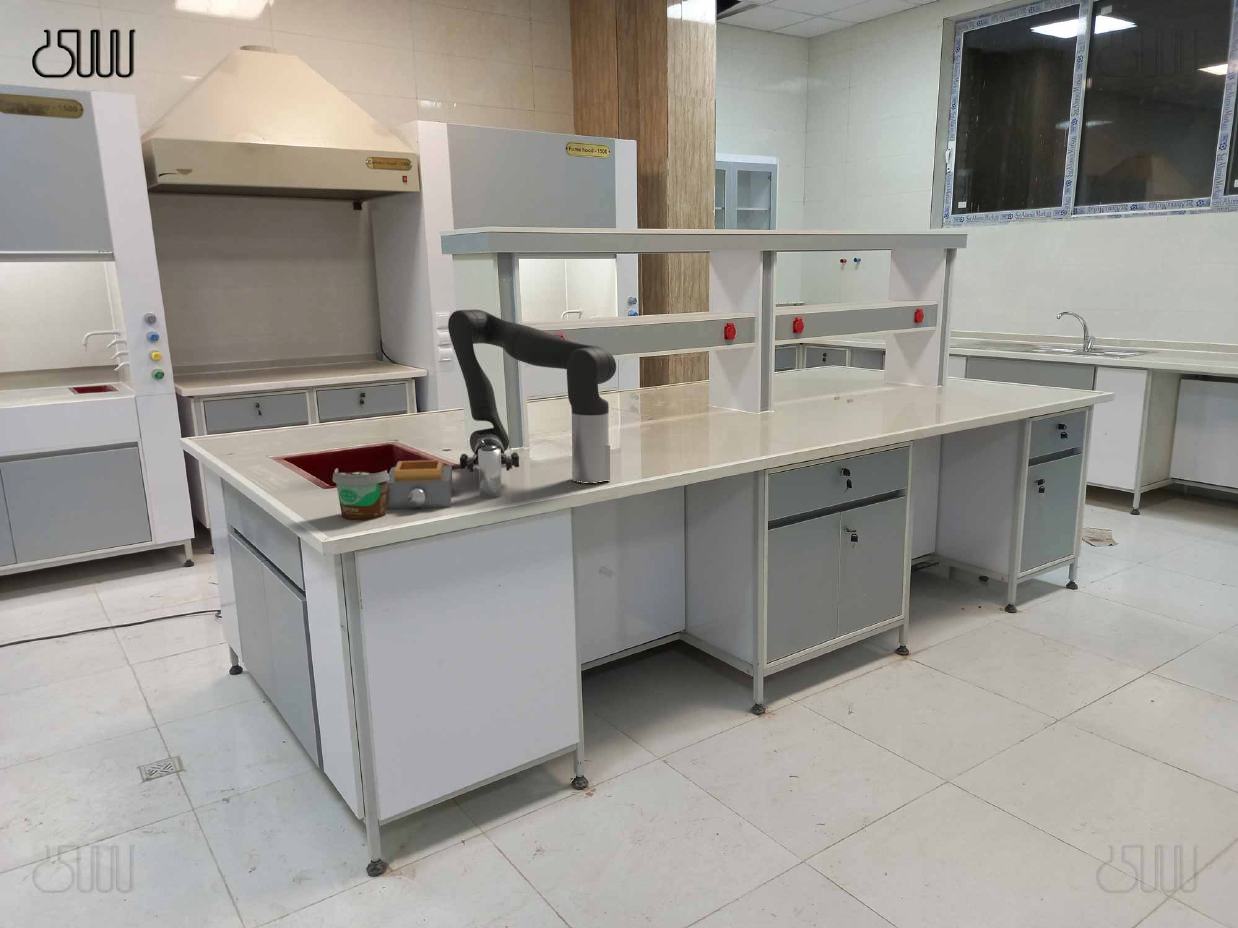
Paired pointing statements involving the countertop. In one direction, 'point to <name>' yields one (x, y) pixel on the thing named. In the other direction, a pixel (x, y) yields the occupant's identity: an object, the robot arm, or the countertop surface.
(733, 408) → the countertop surface
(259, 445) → the countertop surface
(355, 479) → the food container
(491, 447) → the spout can
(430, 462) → the box
